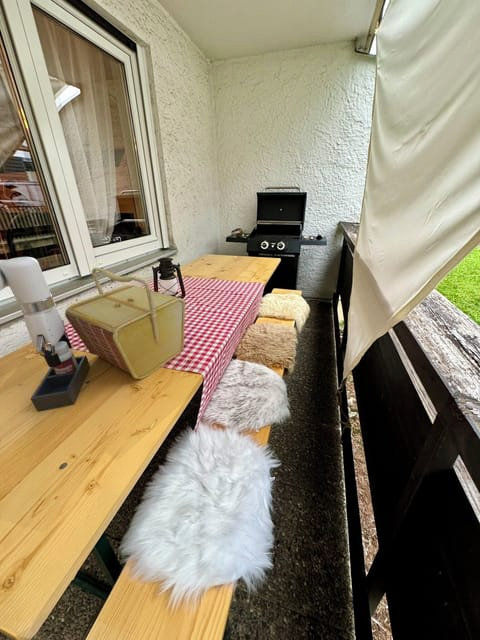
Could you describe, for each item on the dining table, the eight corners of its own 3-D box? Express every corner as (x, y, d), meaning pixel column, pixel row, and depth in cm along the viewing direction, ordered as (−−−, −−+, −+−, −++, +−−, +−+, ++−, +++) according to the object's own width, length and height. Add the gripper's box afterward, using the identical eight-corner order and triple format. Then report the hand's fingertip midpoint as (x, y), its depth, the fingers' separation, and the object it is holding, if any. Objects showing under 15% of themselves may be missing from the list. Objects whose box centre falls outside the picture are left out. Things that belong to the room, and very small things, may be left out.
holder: (37, 411, 70) (30, 399, 67) (60, 371, 85) (55, 360, 82) (74, 404, 71) (68, 392, 69) (90, 366, 86) (85, 355, 84)
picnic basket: (194, 348, 93) (182, 267, 79) (133, 392, 75) (103, 296, 60) (143, 328, 108) (125, 256, 94) (81, 360, 89) (47, 277, 75)
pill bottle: (58, 385, 77) (43, 354, 72) (59, 374, 82) (44, 344, 77) (81, 377, 80) (68, 347, 75) (80, 367, 85) (68, 338, 79)
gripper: (36, 294, 76) (58, 343, 84) (4, 321, 61) (34, 377, 69) (64, 291, 78) (83, 339, 86) (39, 316, 63) (65, 372, 71)
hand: (61, 356), depth 78 cm, fingers open, 8 cm apart
